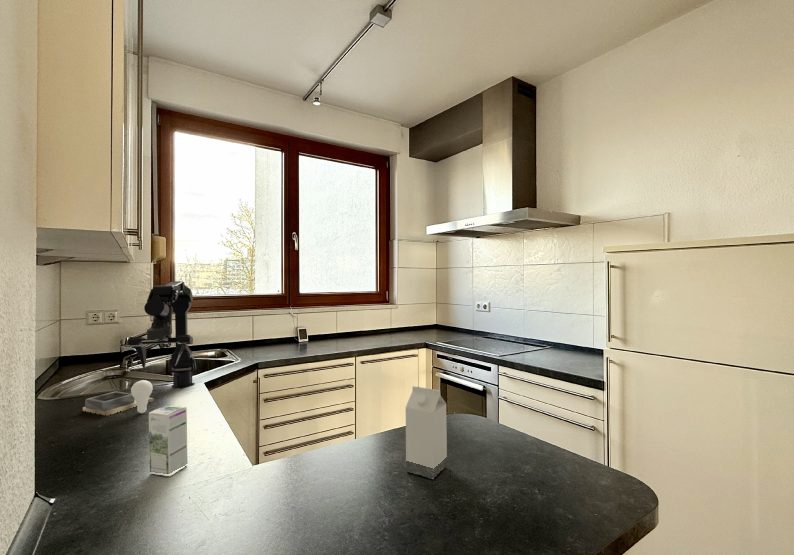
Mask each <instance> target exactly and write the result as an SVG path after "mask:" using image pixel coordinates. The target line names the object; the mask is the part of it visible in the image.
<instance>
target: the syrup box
mask: <svg viewBox="0 0 794 555" xmlns="http://www.w3.org/2000/svg"><path fill="white" fill-rule="evenodd" d="M187 412H188V409H187V406H182V405H181V406H180V405H179V406H178V405H165V406H161V407H159V408H156V409H154V410H152V411H150V412H148V437H149V438H148V449H149V451H148V452H149V453H148V454H149V473H150V472H155V473H163V474H170V473H172V472H173V471H175V470H177V469H179V468H181V467H183V466H185V465H186V464H188V465H189V463H188V462H189V461H188V419H187V418H188V414H187Z"/></svg>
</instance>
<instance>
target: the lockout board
mask: <svg viewBox="0 0 794 555" xmlns="http://www.w3.org/2000/svg"><path fill="white" fill-rule="evenodd" d="M84 400H85V402H84V404H85V405H84V407H82V412H85V411H86V413H90V412H91V414H95V413H96V415H100V414H101V415H102V416H105V415H106V417H107V416H111V415H114V414H117V412H118V413H120V411H121V412H125V411H127V410H130V408H131V409H133V407H134V408H137V407H136V401H135V399H134V397H133V396H132V394H131V392H123V391H118V390H117V391H112V392H108V393H103V394H100V395H95V396H92V397H88V398H85V399H84ZM149 402H150V403H153V402H154V397H149V398H148V404H149ZM110 414H111V415H110Z"/></svg>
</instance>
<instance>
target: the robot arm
mask: <svg viewBox="0 0 794 555" xmlns="http://www.w3.org/2000/svg"><path fill="white" fill-rule="evenodd" d="M193 298H194V296H193V292H192V290H191V288H190V287H188V286H186V284H185V281H181V280H180V281H178V280H177V281H176V280H175V281H174V280H173V281H169V283H166V284H165V285H164V284H163V285H153V287H152V288H151V289H150V292H149V295H148V297H147V299H146V301H147V302H146V303H145V305H144V308H143V309H144V312H145V313H146V314H147V315H149V316H150V317H152V322H151V326H150V327H149V328H147V329H146V337H143V336H134V337H133V336H132V337H131V336H129V338H128V339H126V347H129V348H130V349H133V350H135V352H136V353H137V355H138V357H139V361H140V363H141V367H142V368H144V369H145V368H146V364H147V361H146V360H147V347H145V346H146V345H158V344H159V345H160V344H175V349H174V351H173V353H172V354H171V355H170V359H169V369H170V373H171V374H173V376H172V384H171V386H172V387H173V388H179V389H184V388H187V387H190V385H191V386H193V384H194V385H196V383H195V382H193V372H194V371H196V370H197V364H196V360H195V358H194V356H193V351H192V350H191V349H190V347H189V345H192V344H194V338H193V336H192V335H190V334H189V333H188V332H189V331H188V312H189V311H190V309H191V308H192V304H193V302H194V299H193ZM173 313H174V322H175V323H174V324H175V325H174V329H175V331H174V332H175V337H172V334H173V324H172V323H173ZM171 386H170V387H171ZM172 387H171V388H172Z"/></svg>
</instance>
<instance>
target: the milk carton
mask: <svg viewBox="0 0 794 555" xmlns="http://www.w3.org/2000/svg"><path fill="white" fill-rule="evenodd" d="M411 388H412V391H411V393H410V396H409V398H408V400H407V403H406V405H405V462H406V461H409V462H413V463H416V464H420V465H423V466H426V467H430V468H433V469H434V468H435V467H436V466H438V464H440V463H441V462H442V461H443V460H444V459H445V458H446V457H447V458H448V452H447V451H448V448H447V446H448V441H447V440H448V439H447V438H448V437H447V402H446V401H445V400H444V398H443V397H442V396H441V390H440V389H434V388H427V387H420V386H414V385H413V386H412V387H411Z"/></svg>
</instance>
